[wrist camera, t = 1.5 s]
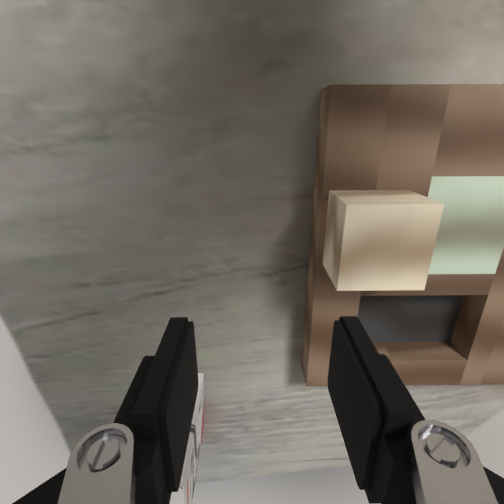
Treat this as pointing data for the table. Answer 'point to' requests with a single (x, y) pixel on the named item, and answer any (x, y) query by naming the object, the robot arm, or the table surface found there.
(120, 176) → the table surface
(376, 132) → the board
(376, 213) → the birch block
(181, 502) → the ink box
